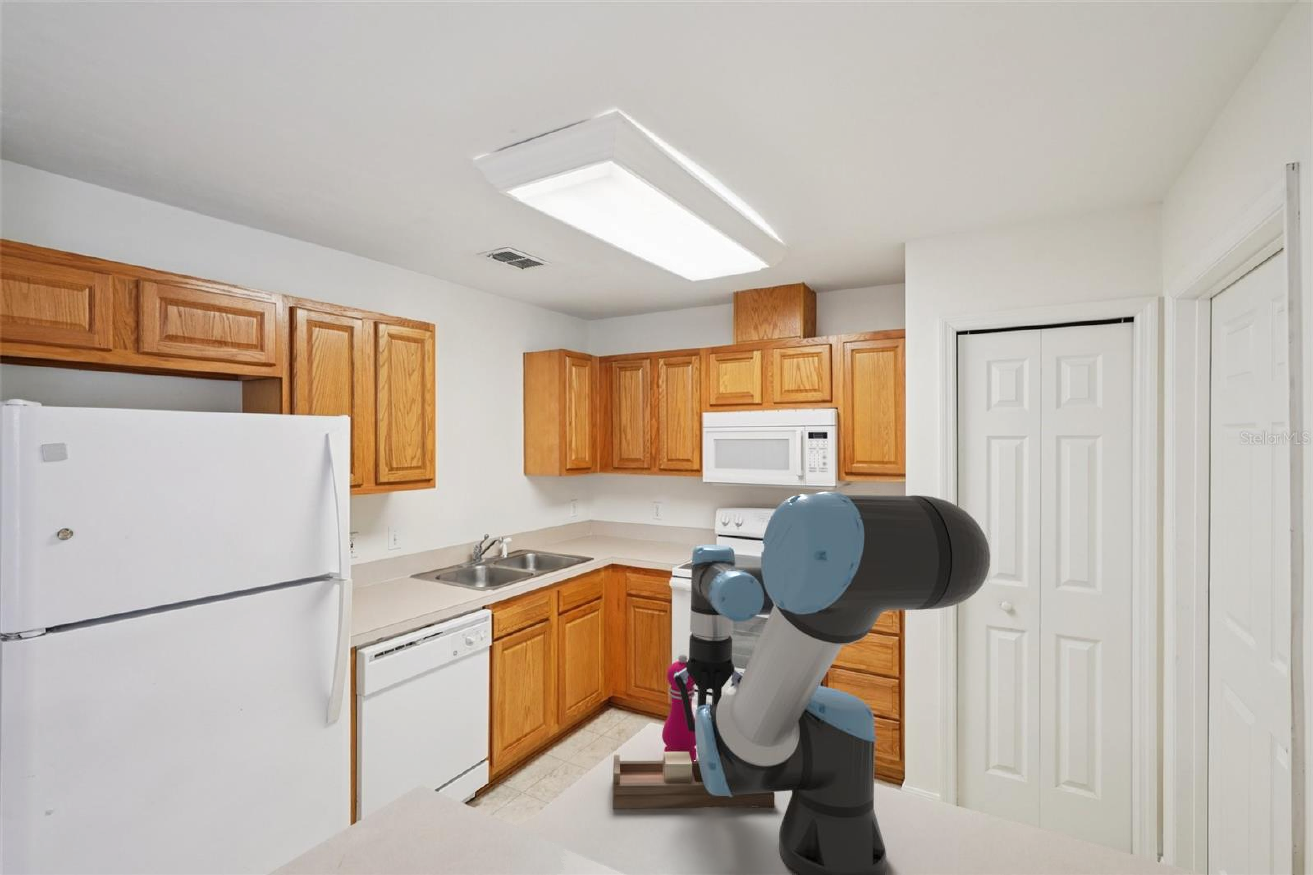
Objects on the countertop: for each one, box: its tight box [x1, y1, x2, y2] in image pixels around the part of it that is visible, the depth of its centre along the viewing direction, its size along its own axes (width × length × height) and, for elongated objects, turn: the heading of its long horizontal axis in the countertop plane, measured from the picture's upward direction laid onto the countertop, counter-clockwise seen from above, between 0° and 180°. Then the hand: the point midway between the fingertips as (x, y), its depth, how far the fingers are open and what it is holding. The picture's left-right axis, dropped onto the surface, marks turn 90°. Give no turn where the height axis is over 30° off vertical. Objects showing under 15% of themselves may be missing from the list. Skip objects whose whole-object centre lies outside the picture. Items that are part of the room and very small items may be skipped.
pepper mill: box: [661, 653, 697, 761], centre depth 119 cm, size 7×7×20 cm
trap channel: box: [612, 754, 776, 809], centre depth 106 cm, size 9×27×5 cm, turn 94°
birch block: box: [662, 751, 692, 782], centre depth 106 cm, size 4×4×4 cm
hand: (707, 770), depth 107 cm, fingers closed
